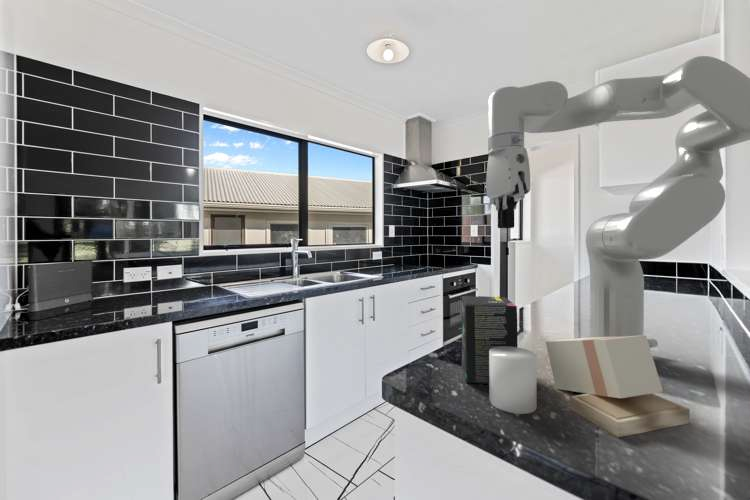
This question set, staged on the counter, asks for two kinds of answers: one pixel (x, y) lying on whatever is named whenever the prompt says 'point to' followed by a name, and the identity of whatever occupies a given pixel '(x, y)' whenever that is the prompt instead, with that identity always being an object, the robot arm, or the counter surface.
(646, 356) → the cream carton
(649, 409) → the podium
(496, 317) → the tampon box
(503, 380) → the white pillar candle
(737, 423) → the counter surface
